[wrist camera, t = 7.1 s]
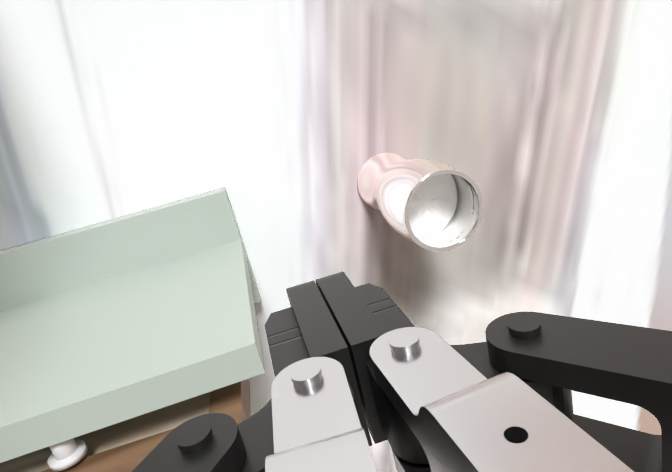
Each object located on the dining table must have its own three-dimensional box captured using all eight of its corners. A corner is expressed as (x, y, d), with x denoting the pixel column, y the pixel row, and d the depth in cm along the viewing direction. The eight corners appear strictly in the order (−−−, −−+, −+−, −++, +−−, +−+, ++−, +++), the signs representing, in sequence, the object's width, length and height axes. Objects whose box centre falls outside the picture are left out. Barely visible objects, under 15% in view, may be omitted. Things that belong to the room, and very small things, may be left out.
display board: (-31, 259, 46) (-276, 416, 23) (224, 187, 49) (227, 263, 26) (26, 368, 49) (-139, 596, 27) (259, 294, 53) (288, 441, 30)
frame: (-9, 396, 39) (-137, 552, 26) (240, 319, 41) (241, 428, 28) (3, 416, 39) (-117, 579, 26) (248, 340, 42) (251, 456, 28)
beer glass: (350, 212, 53) (397, 254, 38) (355, 146, 51) (407, 164, 37) (412, 214, 54) (479, 254, 40) (419, 149, 52) (492, 168, 38)
